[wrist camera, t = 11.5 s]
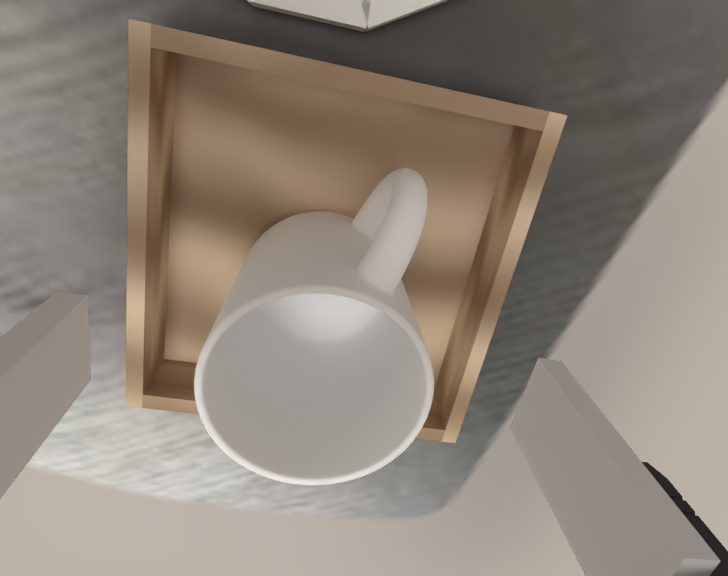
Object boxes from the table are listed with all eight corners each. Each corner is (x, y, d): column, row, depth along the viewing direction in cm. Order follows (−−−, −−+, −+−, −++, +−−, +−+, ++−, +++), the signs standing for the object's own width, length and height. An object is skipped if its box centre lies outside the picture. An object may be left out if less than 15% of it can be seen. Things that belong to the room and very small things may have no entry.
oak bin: (163, 29, 21) (128, 18, 18) (530, 110, 24) (567, 115, 20) (152, 363, 28) (126, 405, 24) (439, 399, 30) (455, 443, 27)
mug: (328, 107, 22) (328, 125, 13) (467, 198, 25) (553, 270, 15) (217, 306, 26) (153, 433, 17) (346, 370, 28) (355, 514, 19)
